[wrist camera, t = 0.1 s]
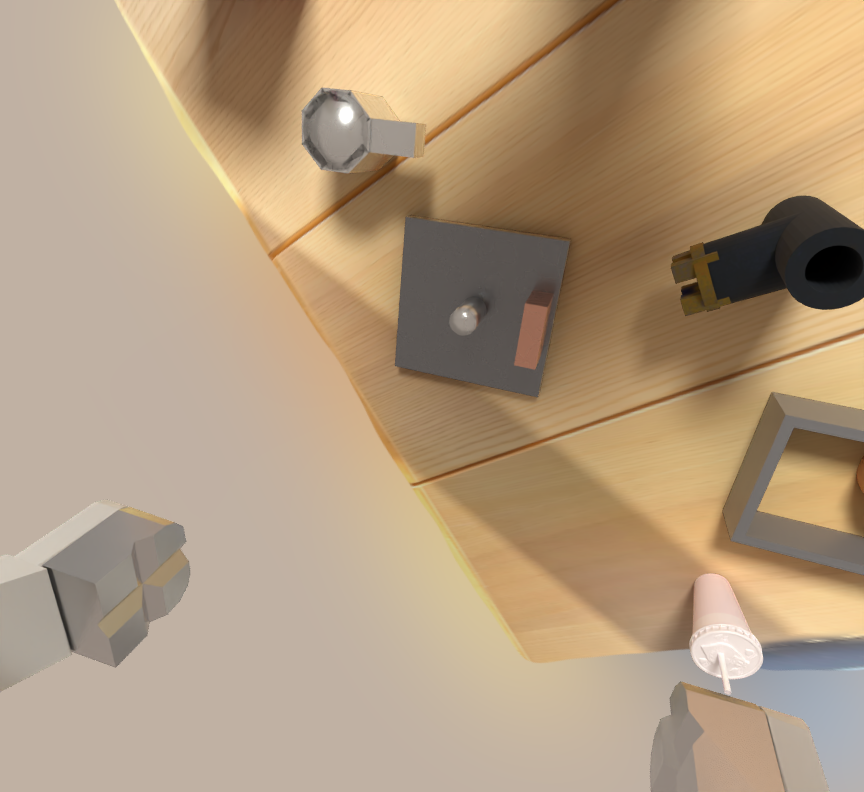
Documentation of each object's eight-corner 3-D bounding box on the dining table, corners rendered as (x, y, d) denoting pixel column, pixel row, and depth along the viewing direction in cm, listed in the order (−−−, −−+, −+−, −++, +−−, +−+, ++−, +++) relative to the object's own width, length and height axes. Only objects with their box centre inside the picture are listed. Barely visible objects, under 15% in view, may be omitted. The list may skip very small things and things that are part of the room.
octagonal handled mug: (338, 92, 52) (301, 85, 46) (442, 102, 50) (417, 96, 44) (337, 164, 55) (302, 167, 49) (435, 177, 53) (411, 181, 47)
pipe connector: (688, 291, 51) (686, 348, 38) (672, 236, 49) (665, 277, 37) (838, 247, 45) (892, 297, 33) (825, 183, 43) (877, 211, 31)
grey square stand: (410, 215, 55) (386, 223, 49) (571, 239, 51) (564, 250, 46) (399, 361, 62) (377, 383, 57) (539, 391, 59) (531, 418, 53)
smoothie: (696, 555, 61) (714, 657, 49) (755, 577, 60) (789, 688, 47) (671, 595, 64) (683, 700, 52) (727, 616, 63) (753, 730, 50)
